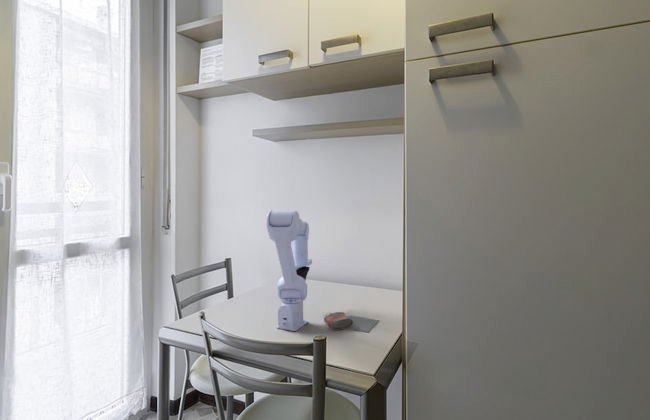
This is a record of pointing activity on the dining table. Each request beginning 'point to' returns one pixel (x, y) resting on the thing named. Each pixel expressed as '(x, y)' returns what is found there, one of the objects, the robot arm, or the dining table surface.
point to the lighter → (338, 320)
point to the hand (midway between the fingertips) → (301, 285)
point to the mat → (362, 324)
